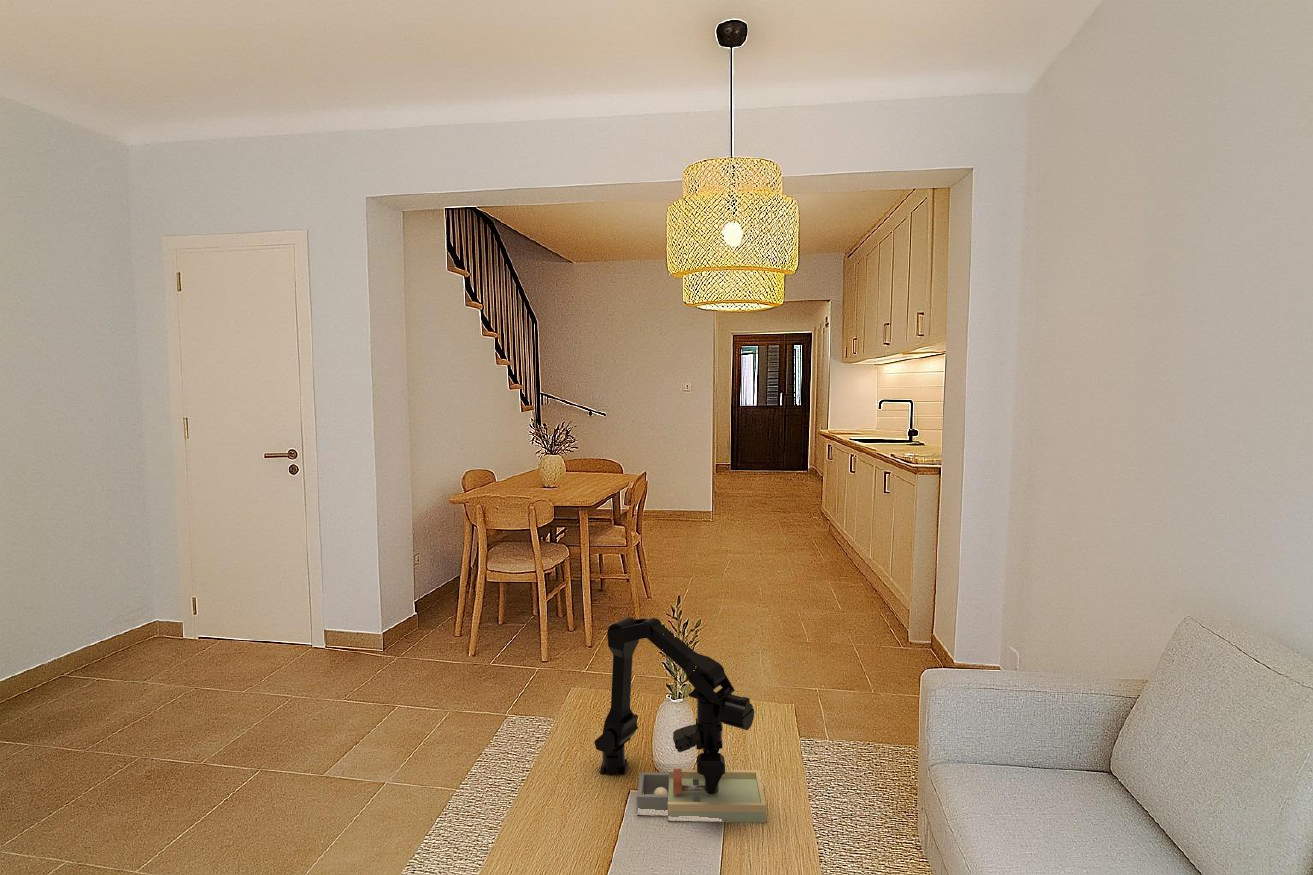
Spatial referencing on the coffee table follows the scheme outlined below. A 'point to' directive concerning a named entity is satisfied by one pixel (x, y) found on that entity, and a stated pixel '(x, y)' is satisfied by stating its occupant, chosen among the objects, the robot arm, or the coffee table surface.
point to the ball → (660, 791)
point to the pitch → (721, 797)
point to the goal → (652, 791)
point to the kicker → (679, 787)
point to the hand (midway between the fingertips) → (710, 782)
